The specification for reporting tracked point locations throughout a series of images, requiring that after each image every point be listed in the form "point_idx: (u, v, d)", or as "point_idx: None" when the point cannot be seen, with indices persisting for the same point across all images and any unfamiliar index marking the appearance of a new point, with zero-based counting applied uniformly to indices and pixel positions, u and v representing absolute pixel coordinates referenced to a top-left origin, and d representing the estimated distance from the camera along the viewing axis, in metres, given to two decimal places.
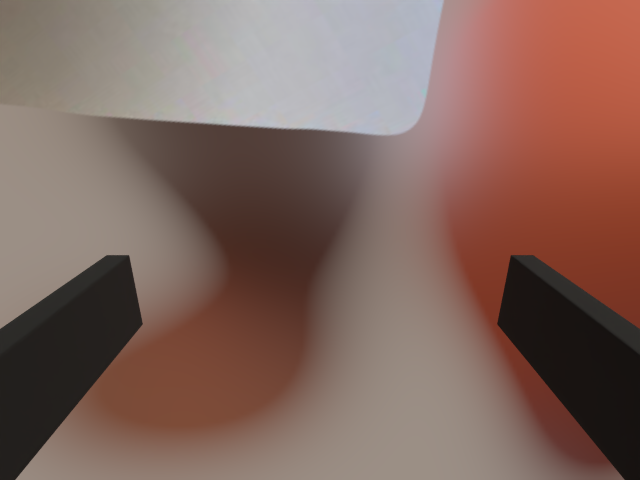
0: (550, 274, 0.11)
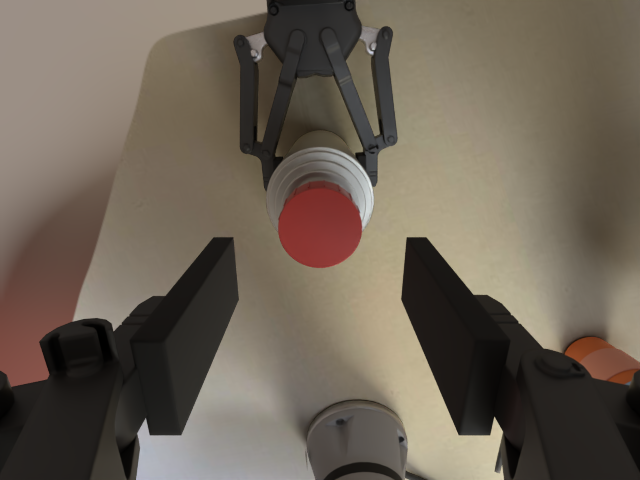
0: (429, 252, 0.12)
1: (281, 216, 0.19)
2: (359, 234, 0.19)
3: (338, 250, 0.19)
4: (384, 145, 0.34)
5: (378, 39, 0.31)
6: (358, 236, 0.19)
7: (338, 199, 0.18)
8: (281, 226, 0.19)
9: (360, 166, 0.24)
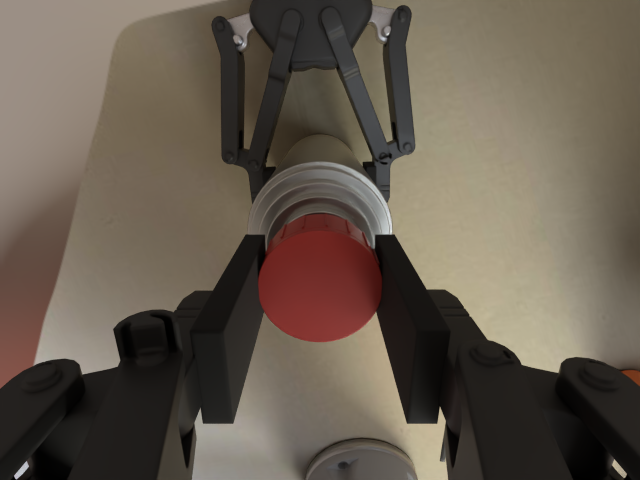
0: (393, 248, 0.13)
1: (262, 271, 0.12)
2: (378, 296, 0.13)
3: (347, 318, 0.13)
4: (398, 154, 0.28)
5: (393, 22, 0.24)
6: (377, 299, 0.13)
7: (347, 246, 0.12)
8: (262, 285, 0.13)
9: (375, 187, 0.17)
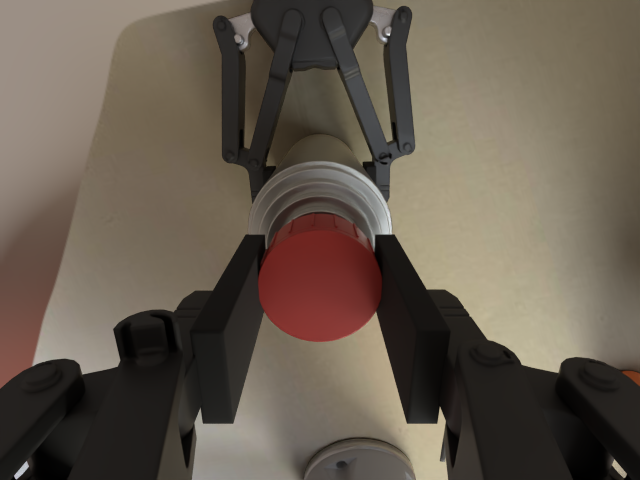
0: (393, 248, 0.13)
1: (307, 339, 0.13)
2: (320, 233, 0.12)
3: (350, 260, 0.12)
4: (398, 154, 0.28)
5: (394, 22, 0.24)
6: (323, 234, 0.12)
7: (270, 270, 0.12)
8: (322, 338, 0.13)
9: (374, 187, 0.17)
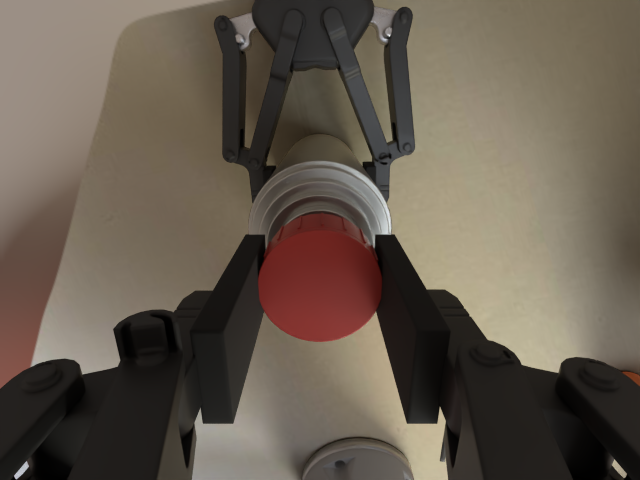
0: (393, 248, 0.13)
1: (379, 295, 0.13)
2: (261, 295, 0.13)
3: (283, 266, 0.12)
4: (398, 154, 0.28)
5: (394, 23, 0.25)
6: (261, 292, 0.13)
7: (306, 332, 0.13)
8: (377, 281, 0.13)
9: (374, 187, 0.17)
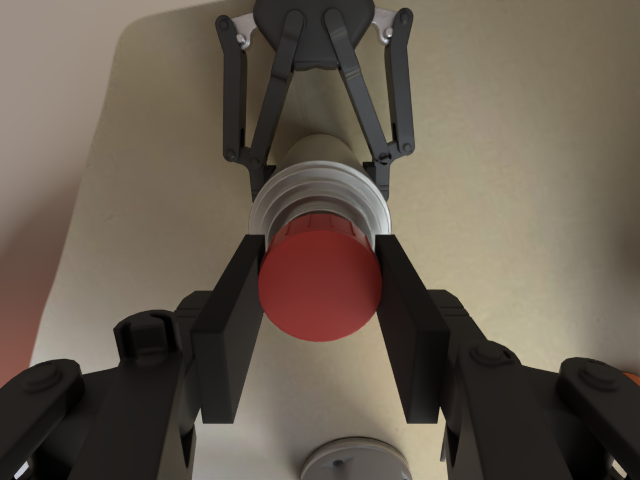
0: (393, 248, 0.13)
1: (318, 232, 0.12)
2: (333, 338, 0.13)
3: (299, 322, 0.13)
4: (398, 154, 0.28)
5: (395, 24, 0.25)
6: (330, 338, 0.13)
7: (372, 296, 0.13)
8: (303, 237, 0.12)
9: (374, 187, 0.18)
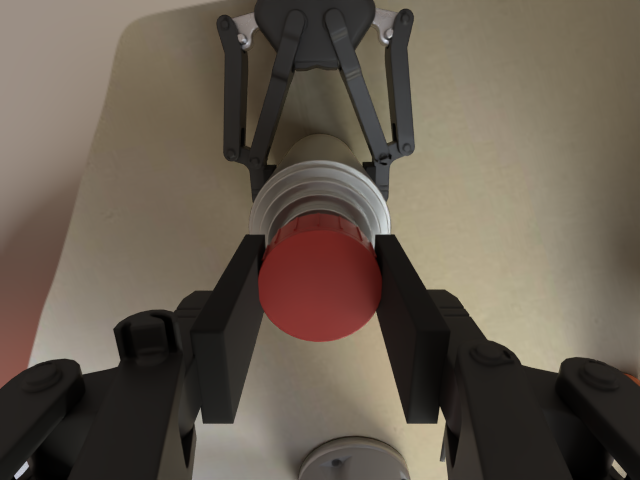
0: (393, 248, 0.13)
1: (260, 297, 0.13)
2: (376, 269, 0.12)
3: (359, 303, 0.13)
4: (398, 155, 0.28)
5: (395, 25, 0.25)
6: (376, 273, 0.12)
7: (321, 239, 0.12)
8: (268, 309, 0.13)
9: (374, 186, 0.18)
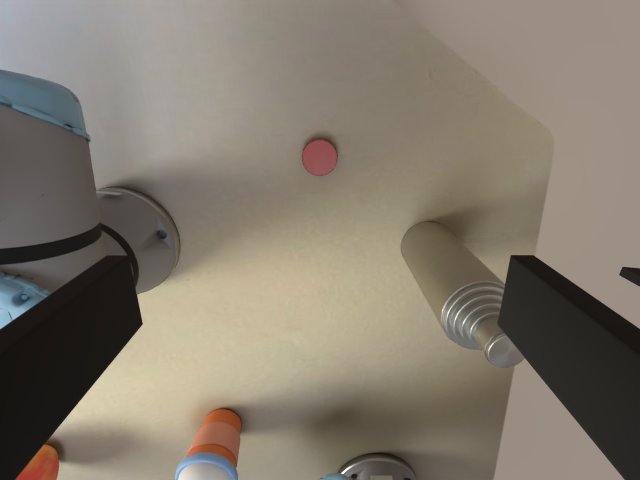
0: (550, 274, 0.11)
1: (303, 160, 0.45)
2: (335, 152, 0.45)
3: (331, 162, 0.45)
4: None
5: None
6: (335, 153, 0.45)
7: (320, 142, 0.45)
8: (305, 164, 0.46)
9: None
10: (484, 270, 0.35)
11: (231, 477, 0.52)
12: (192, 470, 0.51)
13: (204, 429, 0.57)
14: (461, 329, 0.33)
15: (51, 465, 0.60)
